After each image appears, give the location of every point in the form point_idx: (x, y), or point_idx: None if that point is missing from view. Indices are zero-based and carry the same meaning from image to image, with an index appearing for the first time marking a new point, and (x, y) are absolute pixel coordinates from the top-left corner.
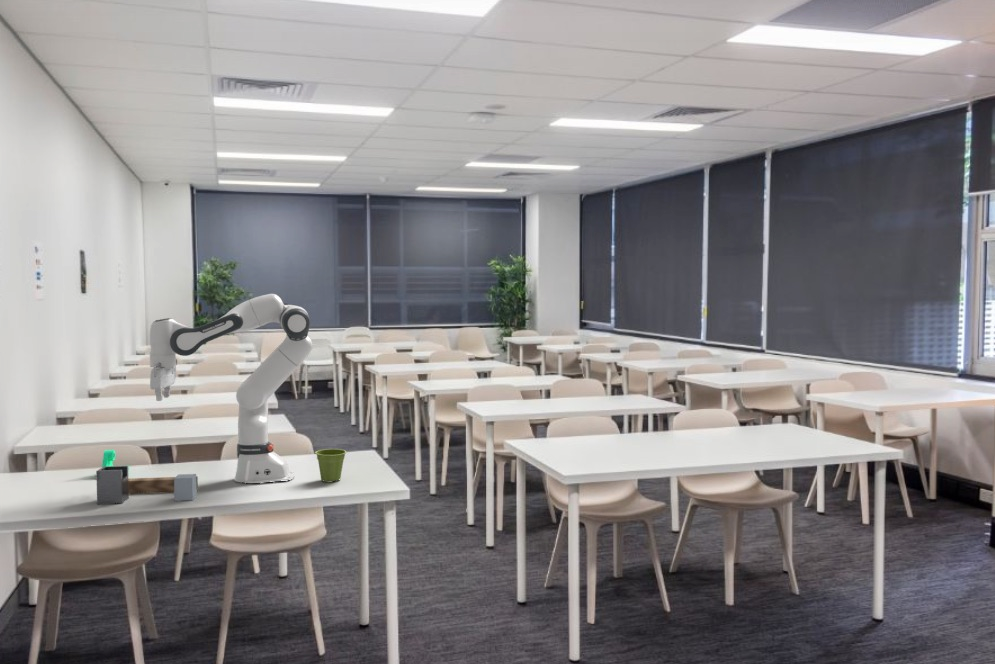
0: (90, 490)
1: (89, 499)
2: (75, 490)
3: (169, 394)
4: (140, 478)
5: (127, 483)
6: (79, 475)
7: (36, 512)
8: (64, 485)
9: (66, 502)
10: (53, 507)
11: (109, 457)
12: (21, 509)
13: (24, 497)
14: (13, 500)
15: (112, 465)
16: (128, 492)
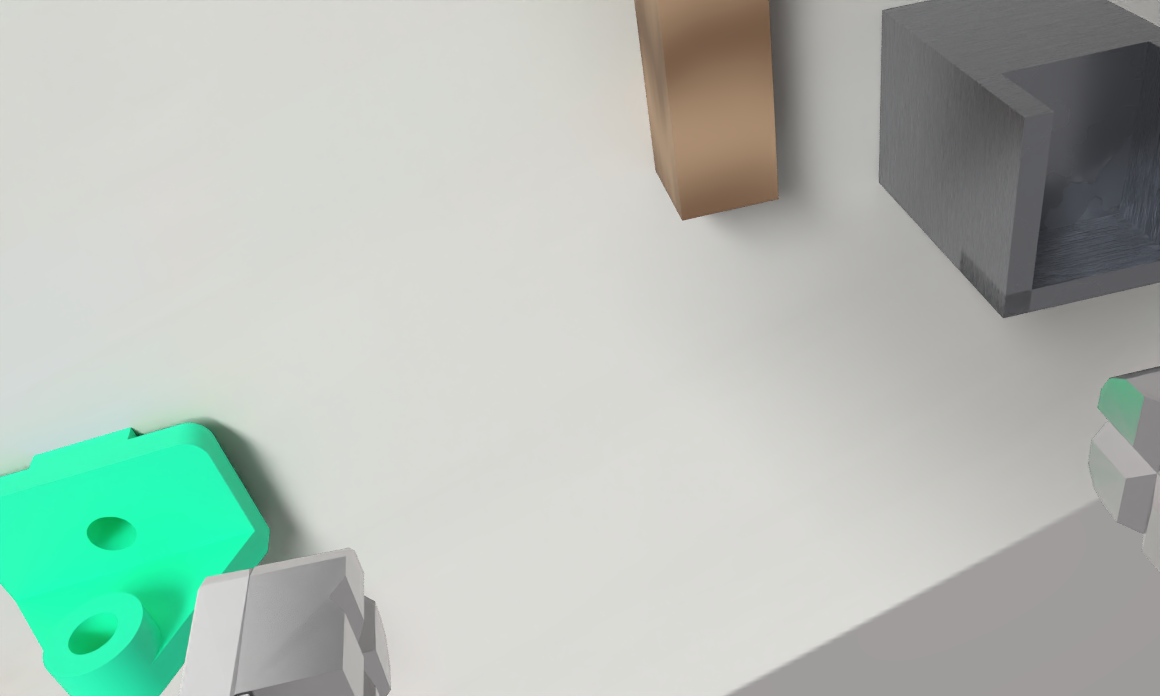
0: (616, 402)
1: (874, 274)
2: (615, 483)
3: (197, 637)
4: (677, 70)
5: (970, 48)
6: None
7: None
8: (483, 606)
9: (929, 363)
10: (1037, 364)
11: (155, 629)
12: (1038, 487)
13: (771, 617)
14: (831, 623)
15: (35, 602)
16: (909, 24)
